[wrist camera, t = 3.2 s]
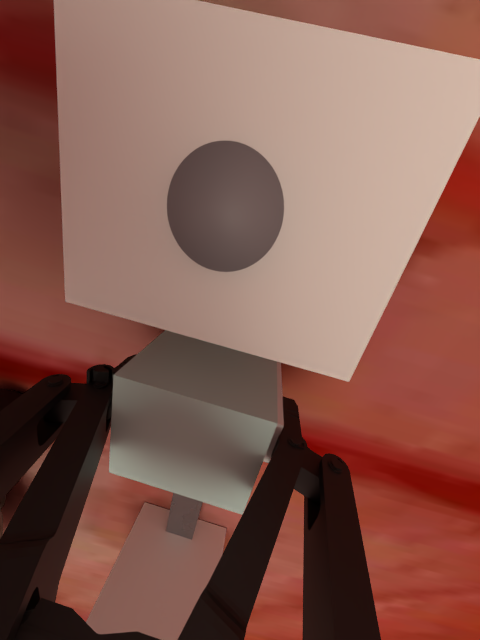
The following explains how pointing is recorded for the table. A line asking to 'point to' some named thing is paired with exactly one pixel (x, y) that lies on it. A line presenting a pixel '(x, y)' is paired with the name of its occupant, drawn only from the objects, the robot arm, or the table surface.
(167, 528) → the rail
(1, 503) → the bowl
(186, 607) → the cabinet
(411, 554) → the table surface
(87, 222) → the cabinet
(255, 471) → the carriage
